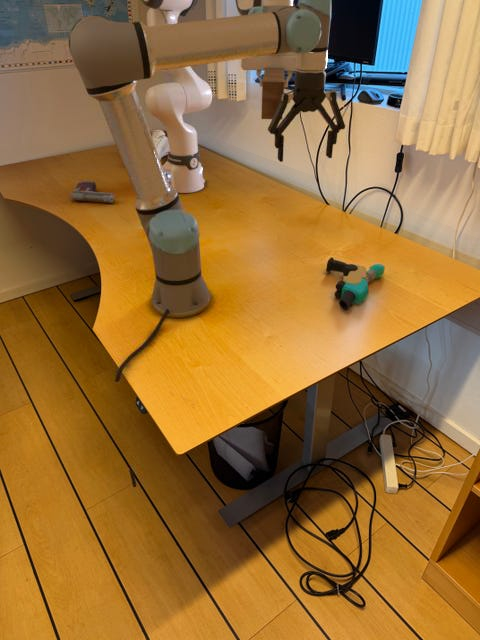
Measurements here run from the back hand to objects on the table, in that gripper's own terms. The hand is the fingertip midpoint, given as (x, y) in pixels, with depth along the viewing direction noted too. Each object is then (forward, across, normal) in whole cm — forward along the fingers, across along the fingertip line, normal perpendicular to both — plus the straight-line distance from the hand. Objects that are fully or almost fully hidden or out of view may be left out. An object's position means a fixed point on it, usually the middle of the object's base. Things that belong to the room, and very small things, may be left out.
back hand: (273, 86), depth 146 cm
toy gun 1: (+44, +67, -12) cm, 81 cm away
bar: (+4, 0, +9) cm, 10 cm away
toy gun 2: (+40, -22, +50) cm, 68 cm away
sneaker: (+44, +55, -60) cm, 93 cm away
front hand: (+12, -9, +31) cm, 34 cm away
